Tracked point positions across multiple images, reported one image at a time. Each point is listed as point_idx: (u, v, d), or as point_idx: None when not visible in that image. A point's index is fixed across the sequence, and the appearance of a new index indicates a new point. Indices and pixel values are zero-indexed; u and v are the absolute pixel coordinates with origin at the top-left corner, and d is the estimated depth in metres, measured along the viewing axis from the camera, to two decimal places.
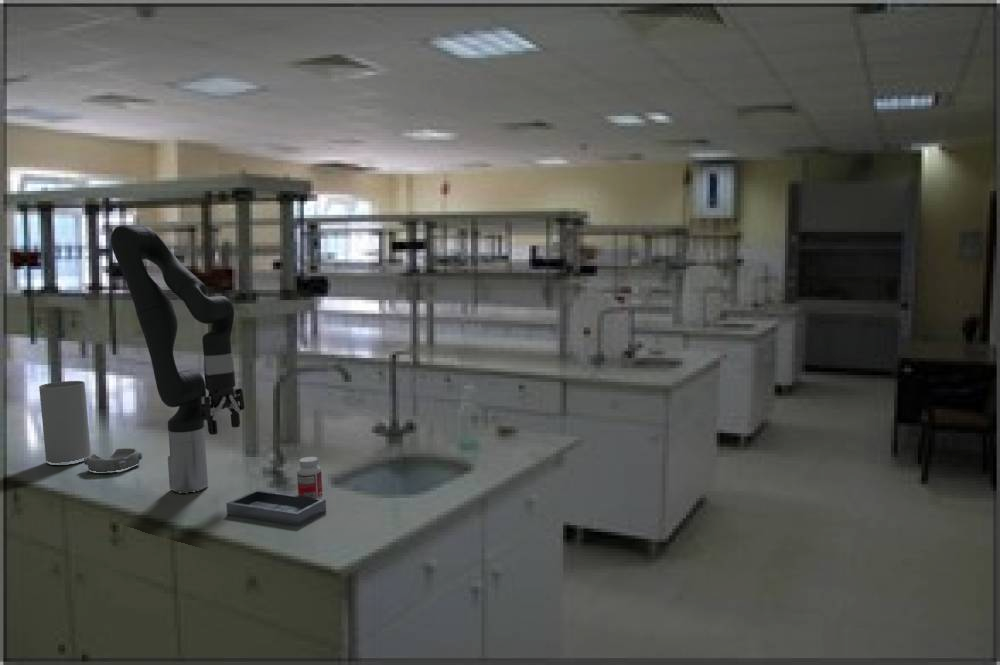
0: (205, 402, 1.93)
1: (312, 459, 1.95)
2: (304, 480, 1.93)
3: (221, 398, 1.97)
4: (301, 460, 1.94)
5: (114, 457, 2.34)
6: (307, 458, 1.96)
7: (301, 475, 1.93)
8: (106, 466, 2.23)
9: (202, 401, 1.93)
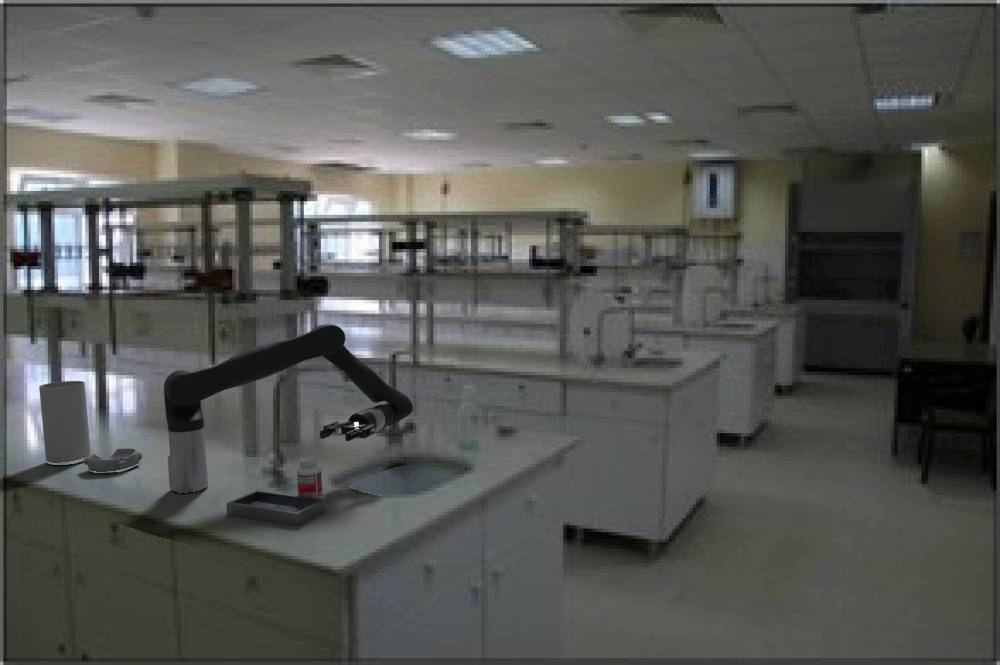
0: (373, 432, 2.10)
1: (312, 459, 1.95)
2: (304, 480, 1.93)
3: None
4: (301, 460, 1.94)
5: (114, 457, 2.34)
6: (307, 458, 1.96)
7: (301, 475, 1.93)
8: (106, 466, 2.23)
9: (373, 429, 2.10)
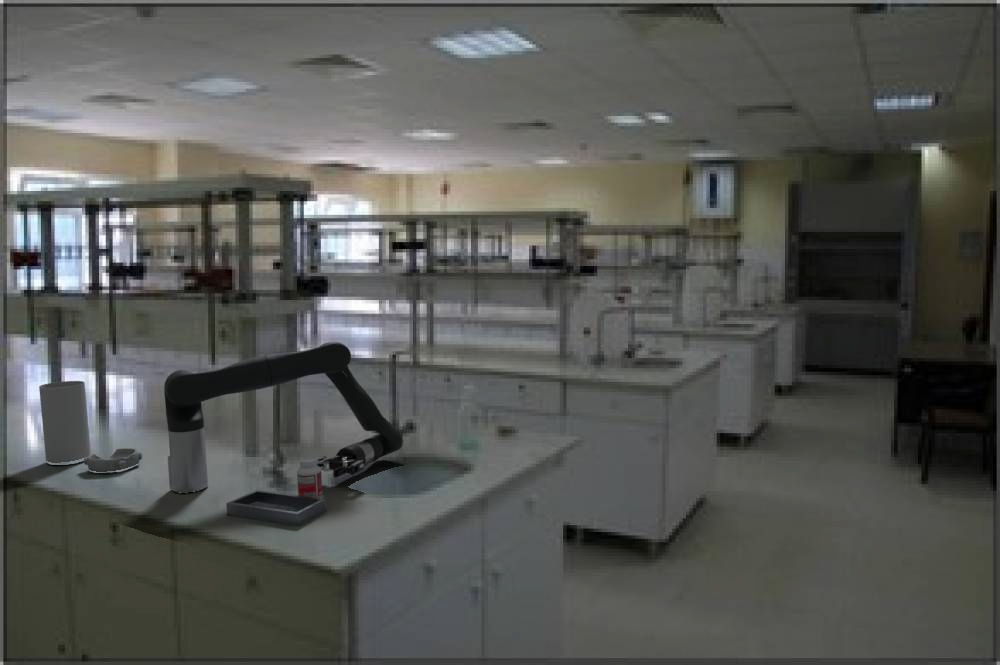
0: (361, 468, 2.06)
1: (312, 459, 1.95)
2: (304, 480, 1.93)
3: None
4: (301, 460, 1.94)
5: (114, 457, 2.34)
6: (307, 458, 1.96)
7: (301, 475, 1.93)
8: (106, 466, 2.23)
9: (362, 465, 2.06)
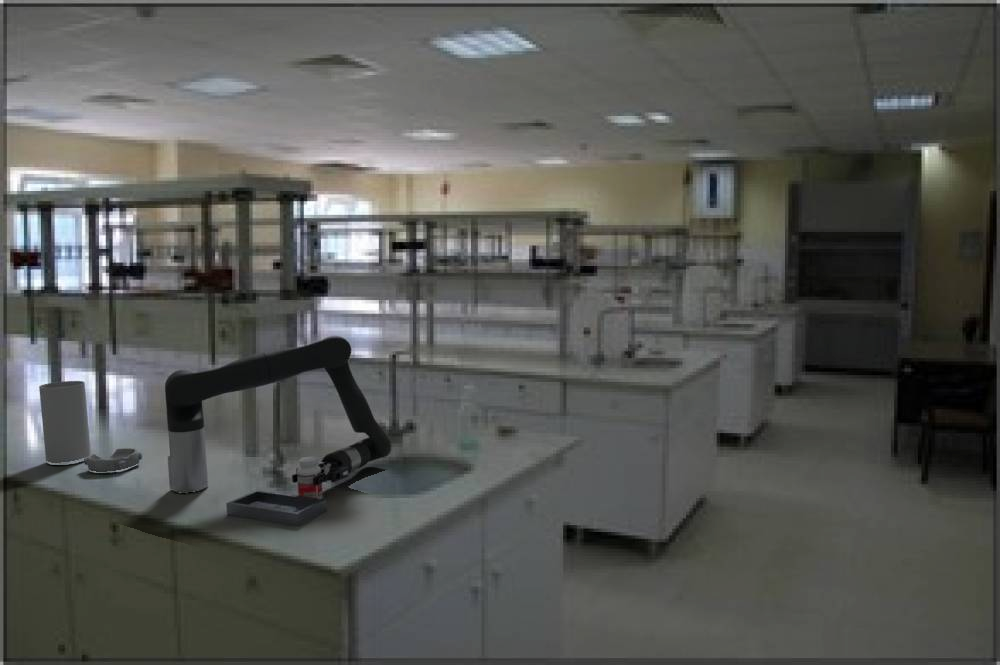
0: (345, 476, 1.99)
1: (312, 459, 1.95)
2: (304, 480, 1.93)
3: None
4: (301, 460, 1.94)
5: (114, 457, 2.34)
6: (307, 458, 1.96)
7: (301, 475, 1.93)
8: (106, 466, 2.23)
9: (345, 472, 1.99)
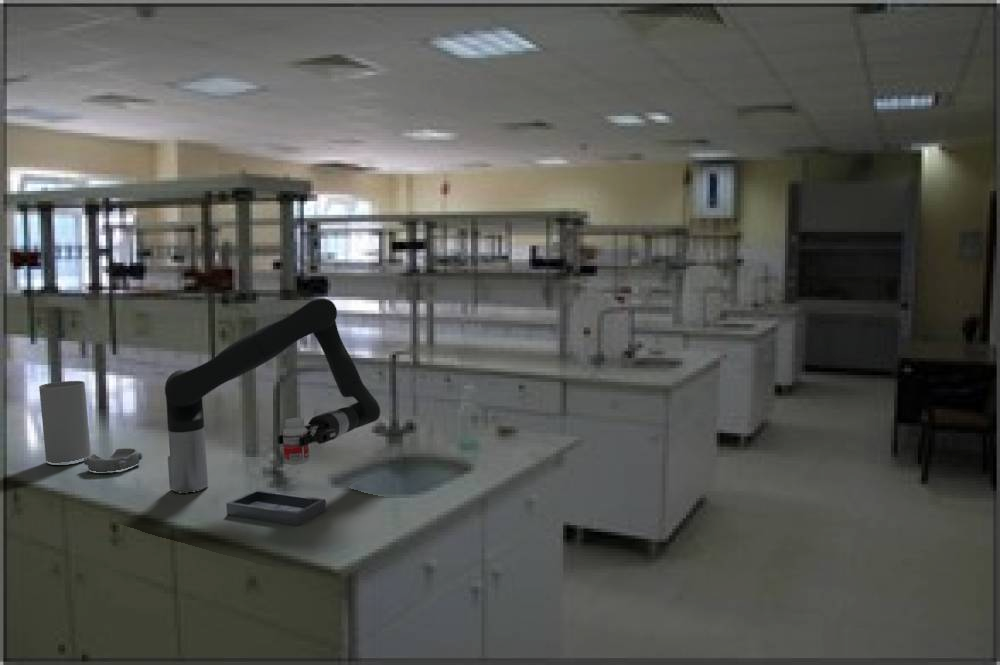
0: (332, 438, 1.94)
1: (298, 419, 1.90)
2: (289, 441, 1.87)
3: None
4: (287, 420, 1.89)
5: (114, 457, 2.34)
6: (293, 419, 1.91)
7: (287, 436, 1.87)
8: (106, 466, 2.23)
9: (332, 434, 1.94)
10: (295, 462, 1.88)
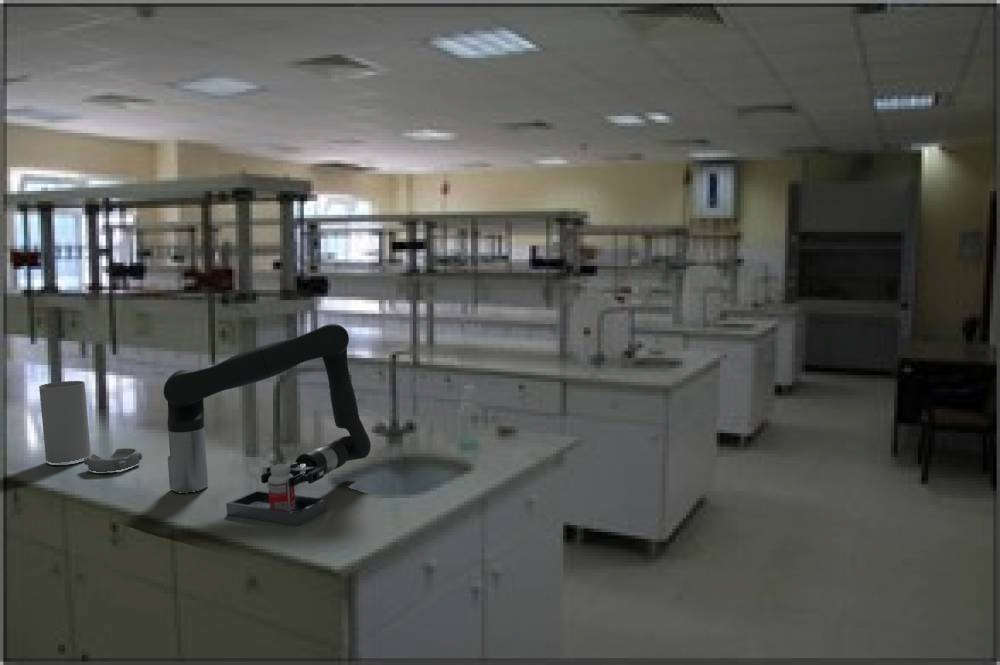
0: (321, 476, 1.89)
1: (284, 466, 1.85)
2: (275, 489, 1.83)
3: None
4: (272, 468, 1.84)
5: (114, 457, 2.34)
6: (279, 466, 1.86)
7: (272, 484, 1.83)
8: (106, 466, 2.23)
9: (321, 472, 1.89)
10: None
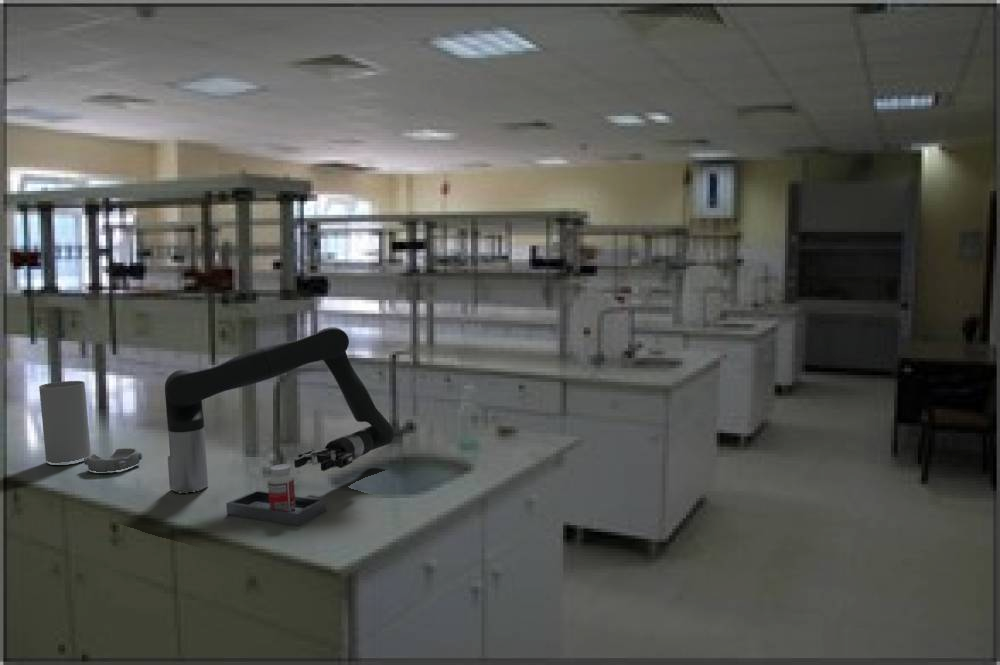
0: (350, 461, 2.01)
1: (284, 466, 1.85)
2: (275, 489, 1.83)
3: None
4: (272, 468, 1.85)
5: (114, 457, 2.34)
6: (279, 465, 1.86)
7: (272, 484, 1.83)
8: (106, 466, 2.23)
9: (350, 458, 2.01)
10: None
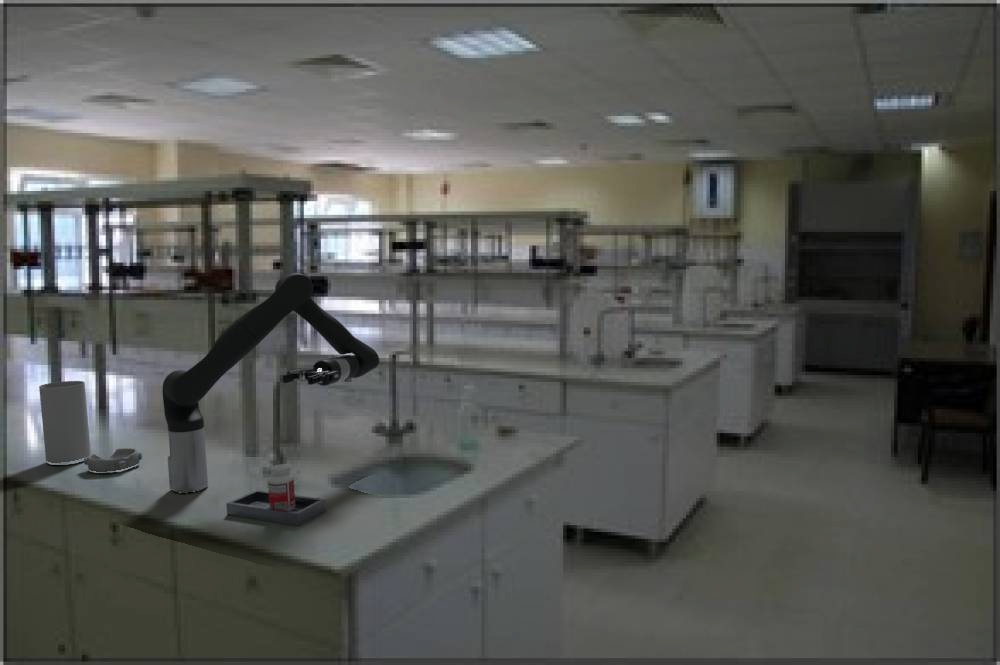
0: (336, 378, 2.11)
1: (284, 466, 1.85)
2: (275, 489, 1.83)
3: None
4: (272, 468, 1.84)
5: (114, 457, 2.34)
6: (279, 466, 1.86)
7: (272, 484, 1.83)
8: (106, 466, 2.23)
9: (336, 375, 2.11)
10: None
